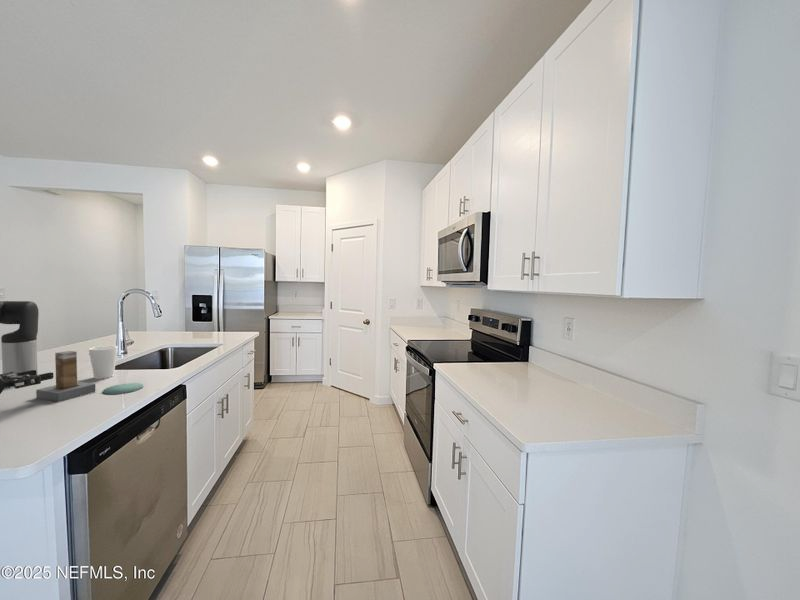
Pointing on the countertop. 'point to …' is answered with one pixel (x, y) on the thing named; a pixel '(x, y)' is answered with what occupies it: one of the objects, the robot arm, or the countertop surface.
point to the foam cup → (103, 360)
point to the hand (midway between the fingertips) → (44, 374)
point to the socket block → (65, 392)
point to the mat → (123, 388)
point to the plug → (66, 369)
